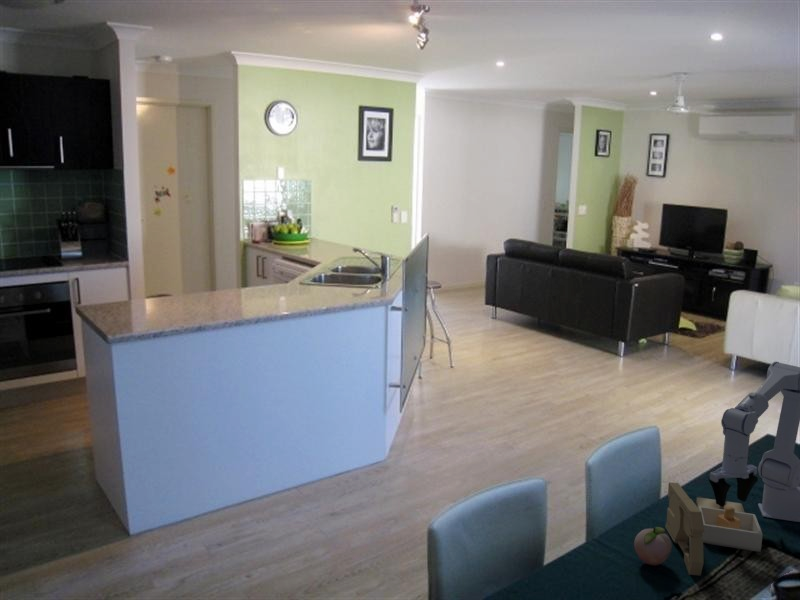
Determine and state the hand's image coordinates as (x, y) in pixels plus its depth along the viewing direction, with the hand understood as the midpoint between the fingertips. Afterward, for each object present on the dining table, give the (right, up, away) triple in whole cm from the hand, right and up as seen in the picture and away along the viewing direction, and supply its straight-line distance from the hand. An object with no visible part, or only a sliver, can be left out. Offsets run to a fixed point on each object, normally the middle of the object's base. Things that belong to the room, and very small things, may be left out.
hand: (730, 502), depth 174 cm
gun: (-15, -11, -5) cm, 19 cm away
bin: (0, -10, +2) cm, 10 cm away
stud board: (+4, -8, +14) cm, 16 cm away
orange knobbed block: (0, -9, +2) cm, 9 cm away
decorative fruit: (-26, -12, -12) cm, 31 cm away
